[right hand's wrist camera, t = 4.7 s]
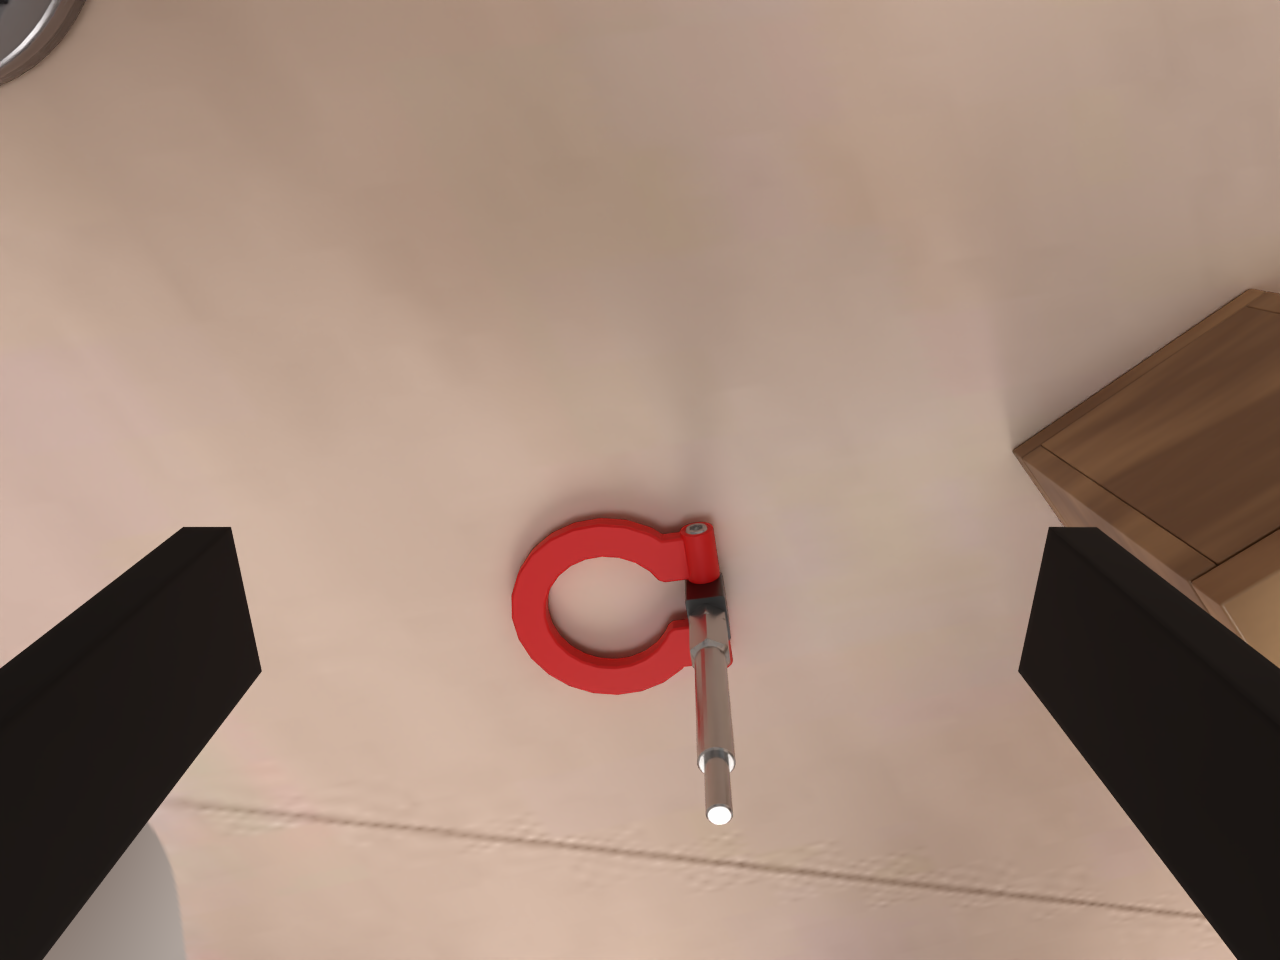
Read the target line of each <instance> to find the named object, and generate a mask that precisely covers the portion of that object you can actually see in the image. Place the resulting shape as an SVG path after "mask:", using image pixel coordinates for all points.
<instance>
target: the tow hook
mask: <svg viewBox="0 0 1280 960" xmlns="http://www.w3.org/2000/svg"><path fill="white" fill-rule="evenodd" d="M597 557H616V558H622V559H625V560H628V561H631V562H635V563H637V564H638V565H640V566H642V567H643V568H645V569H647V570H648V571H650V572H651V573H652V574H653V575H654V576H655V577H656V578H657V579H658V580H660V581H663V582H670V581H678V580H685V603H686V609H687V615H688V619H684V620H675V621H672V622H671V623H670V624H668V626H667V629H666V631H665V632H664V634H663V635H662V636H661V637H660V639H659V640H658V641H657V642H656V643H655V644H653V645H652V646H651V647H649V648H648V649H647V650H645V651H643V652H641V653H638V654H636V655H633V656H631V657H624V658H618V659H611V658H599V657H596V656H592V655H589V654H586V653H583V652H582V651H580V650H578V649H576V648H575V647H573V646H571V645H570V644H569V643H568V642H567V641H566V640H565V639H564V638H563V637H561V636H560V634H559V633H558V631H557V630H556V628H555V626H554V625H553V623H552V620H551V617H550V614H549V610H548V594H549V590H550V588H551V586H552V585H553V583H554V582H555V580H556V579H557V578H558V576H559V575H560V574H562V573H563V572H564V571H565V570H566V569H568V568H569V567H570V566H572V565H574V564H576V563H579V562H581V561H583V560H585V559H591V558H597ZM512 619H513V623H514V626H515V629H516V632H517V635H518V638H519V640H520V642H521V643H522V645H523V646H524V648H525V650H526V651H527V653H528V654H529V656H530V657H531V659H533V660H534V661H535V662H536V663H537V664H538V665H539V666H540V667H541V668H542V669H543V670H545V671H546V672H547V673H548V674H549V675H551V676H553V677H554V678H556V679H558V680H560V681H562V682H563V683H565V684H567V685H569V686H571V687H575V688H578V689H581V690H585V691H588V692H592V693H601V694H615V695H619V694H626V693H632V692H639V691H643V690H646V689H648V688H651V687H653V686H656V685H658V684H661V683H663V682H665V681H666V680H668V679H669V678H670V677H672V676H673V675H675V674H676V673H677V672H679V671H680V670H681V669H683V667H685V666H693V668H695V693H696V731H697V765H698V768H699V769H700V771H701V772H702V773H704V777H705V803H706V817H707V819H708V820H709V821H710V822H711V823H714V824H718V825H721V824H726V823H728V822H729V821H730V820H731V819H732V817H733V807H732V795H731V782H730V773H731V772H732V771H733V769H734V767H735V750H734V739H733V728H732V717H731V706H730V695H729V684H728V673H727V668H728V667H729V666H730V665H731V664H732V662H733V658H732V651H731V644H730V638H731V636H730V627H729V617H728V609H727V602H726V596H725V589H724V582H723V576H722V573H721V572H720V570H719V564H718V557H717V550H716V543H715V537H714V530H713V526H712V525H711V524H710V523H706V522H695V523H691V524H688V525H685V526H684V527H682V528H681V529H680V532H676V533H668V534H661V533H659V532H658V531H656V530H654V529H653V528H651V527H648V526H645V525H642V524H638V523H635V522H632V521H629V520H623V519H607V518H597V519H592V520H586V521H580V522H575V523H572V524H570V525H568V526H566V527H564V528H561V529H559V530H557V531H555V532H553V533H551V534H550V535H549V536H547V537H546V538H545V539H544V540H543V541H542V542H540V543H539V544H538V545H537V546H536V547H534V548H533V550H532V551H531V553H530V554H529V556H528V557H527V559H526V560H525V562H524V563H523V565H522V566H521V568H520V570H519V573H518V576H517V579H516V582H515V586H514V589H513V593H512Z"/></svg>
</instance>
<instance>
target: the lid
mask: <svg viewBox="0 0 1280 960" xmlns="http://www.w3.org/2000/svg"><path fill="white" fill-rule="evenodd" d="M1191 584H1192V586H1193V588H1194V589H1195V591H1196V593H1197V594H1198V596H1199V597H1200V599H1201V600H1202V602H1203V603H1204V605H1205V607H1206V608H1207V610H1208V611H1209V613H1210V614H1211V616H1212V617H1214V618H1215V619H1216V620H1218V621H1219V622H1220V623H1222V624H1223V625H1224V626H1225V627H1227V628H1228V629H1229V630H1231V631H1232V632H1233V633H1234V634H1236V635H1237V636H1238V637H1240V638H1241V639H1242V640H1244V641H1245V642H1246V643H1247V644H1249V645H1250V646H1251V647H1253V648H1254V649H1255V650H1256V651H1258V652H1259V653H1260V654H1262V655H1263V656H1264V657H1266V658H1267V659H1268V660H1269V661H1271V662H1272V663H1273V664H1275V665H1276V666H1277V667H1278V668H1280V529H1279V530H1277V531H1275V532H1274V533H1272V534H1270V535H1269V536H1267V537H1265V538H1264V539H1262V540H1260V541H1259V542H1257V543H1255V544H1254V545H1252V546H1250V547H1249V548H1247V549H1245V550H1244V551H1242V552H1240V553H1239V554H1237V555H1235V556H1234V557H1232V558H1230V559H1229V560H1227V561H1225V562H1224V563H1222V564H1221V565H1219V566H1217V567H1216V568H1214V569H1212V570H1211V571H1209V572H1207V573H1206V574H1204V575H1202V576H1201V577H1199V578H1197V579H1196V580H1194V581H1192V583H1191Z"/></svg>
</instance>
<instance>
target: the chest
mask: <svg viewBox="0 0 1280 960" xmlns="http://www.w3.org/2000/svg"><path fill="white" fill-rule="evenodd" d="M1013 453H1014V454H1015V456H1016V457H1017V459H1018V460H1019V462H1020V463H1021V465H1022V466H1023V467H1024V469H1025V470H1026V472H1027V473H1028V475H1029V476H1030V478H1031V479H1032V480H1033V482H1034V483H1035V485H1036V486H1037V488H1038V489H1039V491H1040V492H1041V494H1042V495H1043V496H1044V498H1045V499H1046V501H1047V502H1048V504H1049V505H1050V507H1051V508H1052V509H1053V511H1054V512H1055V514H1056V515H1057V517H1058V518H1059V520H1060V521H1061V522H1062V524H1063V525H1064V527H1097V528H1099V529H1100V530H1101V531H1103V532H1104V533H1105V534H1106V535H1108V536H1109V537H1110V538H1112V539H1113V540H1114V541H1115V542H1117V543H1118V544H1119V545H1121V546H1122V547H1123V548H1124V549H1126V550H1127V551H1128V552H1130V553H1131V554H1132V555H1134V556H1135V557H1136V558H1137V559H1139V560H1140V561H1141V562H1143V563H1144V564H1145V565H1146V566H1148V567H1149V568H1150V569H1152V570H1153V571H1154V572H1156V573H1157V574H1158V575H1159V576H1161V577H1162V578H1163V579H1165V580H1166V581H1167V582H1168V583H1170V584H1171V585H1172V586H1174V587H1175V588H1176V589H1178V590H1179V591H1180V592H1181V593H1183V594H1184V595H1185V596H1187V597H1188V598H1189V599H1190V600H1192V601H1193V602H1194V603H1196V604H1197V605H1198V606H1200V607H1201V608H1202V609H1203V610H1205V611H1206V612H1207V613H1209V611H1208V610H1207V608H1206V607H1205V605H1204V603H1203V602H1202V600H1201V599H1200V597H1199V596H1198V594H1197V593H1196V591H1195V589H1194V588H1193V586H1192V584H1191V583H1192V581H1194V580H1196V579H1197V578H1199V577H1201V576H1202V575H1204V574H1206V573H1207V572H1209V571H1211V570H1212V569H1214V568H1216V567H1217V566H1219V565H1221V564H1222V563H1224V562H1225V561H1227V560H1229V559H1230V558H1232V557H1234V556H1235V555H1237V554H1239V553H1240V552H1242V551H1244V550H1245V549H1247V548H1249V547H1250V546H1252V545H1254V544H1255V543H1257V542H1259V541H1260V540H1262V539H1264V538H1265V537H1267V536H1269V535H1270V534H1272V533H1274V532H1275V531H1277V530H1279V529H1280V294H1278V293H1273V292H1265V291H1260V290H1255V289H1249V290H1247V291H1246V292H1244V293H1243V294H1241V295H1240V296H1239V297H1237V298H1236V299H1234V300H1233V301H1231V302H1230V303H1228V304H1227V305H1225V306H1224V307H1222V308H1221V309H1220V310H1218V311H1217V312H1215V313H1214V314H1212V315H1211V316H1209V317H1208V318H1206V319H1205V320H1203V321H1202V322H1200V323H1199V324H1198V325H1196V326H1195V327H1193V328H1192V329H1190V330H1189V331H1187V332H1186V333H1184V334H1183V335H1181V336H1180V337H1178V338H1177V339H1176V340H1174V341H1173V342H1171V343H1170V344H1168V345H1167V346H1165V347H1164V348H1162V349H1161V350H1159V351H1158V352H1157V353H1155V354H1154V355H1152V356H1151V357H1149V358H1148V359H1146V360H1145V361H1143V362H1142V363H1140V364H1139V365H1137V366H1136V367H1135V368H1133V369H1132V370H1130V371H1129V372H1127V373H1126V374H1124V375H1123V376H1121V377H1120V378H1118V379H1117V380H1115V381H1114V382H1113V383H1111V384H1110V385H1108V386H1107V387H1105V388H1104V389H1102V390H1101V391H1099V392H1098V393H1096V394H1095V395H1094V396H1092V397H1091V398H1089V399H1088V400H1086V401H1085V402H1083V403H1082V404H1080V405H1079V406H1077V407H1076V408H1074V409H1073V410H1072V411H1070V412H1069V413H1067V414H1066V415H1064V416H1063V417H1061V418H1060V419H1058V420H1057V421H1055V422H1054V423H1052V424H1051V425H1050V426H1048V427H1047V428H1045V429H1044V430H1042V431H1041V432H1039V433H1038V434H1036V435H1035V436H1033V437H1032V438H1031V439H1029V440H1028V441H1026V442H1025V443H1023V444H1022V445H1020V446H1019V447H1017V448H1016V449H1014V450H1013ZM1209 614H1210V613H1209ZM1210 615H1211V614H1210Z"/></svg>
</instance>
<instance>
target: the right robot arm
mask: <svg viewBox="0 0 1280 960" xmlns="http://www.w3.org/2000/svg"><path fill="white" fill-rule="evenodd" d="M85 1H86V0H0V85H2V84H4V83H6V82H8V81H11V80H13V79H15V78H17V77H19V76H20V75H22V74H23V73H25V72H26V71H28V70H29V69H31V68H32V67H34V66H35V65H36V64H37V63H39V62H40V61H41V60H42V59H43V58H44V57H46V56H47V55H48V54H49V53H50V52H51V51H52V50H53V49H54V48H55V47H56V45H57V44H58V43H59V42H60V41H61V40H62V39H63V38H64V36H65V35H66V33H67V32H68V30H69V29H70V27H71V26H72V25H73V23H74V22H75V20H76V18H77V16H78V15H79V13H80V11H81V9H82V7H83V5H84V3H85ZM261 672H262V670H261V665H260V661H259V656H258V651H257V647H256V642H255V637H254V633H253V628H252V623H251V619H250V614H249V609H248V605H247V600H246V595H245V591H244V586H243V581H242V576H241V572H240V567H239V562H238V558H237V553H236V548H235V544H234V539H233V534H232V530H231V527H183V528H181V529H180V530H179V531H177V532H176V533H175V534H174V535H172V536H171V537H170V538H168V539H167V540H166V541H165V542H163V543H162V544H161V545H159V546H158V547H157V548H156V549H154V550H153V551H152V552H150V553H149V554H148V555H146V556H145V557H144V558H143V559H141V560H140V561H139V562H137V563H136V564H135V565H134V566H132V567H131V568H130V569H128V570H127V571H126V572H124V573H123V574H122V575H121V576H119V577H118V578H117V579H115V580H114V581H113V582H112V583H110V584H109V585H108V586H106V587H105V588H104V589H102V590H101V591H100V592H99V593H97V594H96V595H95V596H93V597H92V598H91V599H90V600H88V601H87V602H86V603H84V604H83V605H82V606H80V607H79V608H78V609H77V610H75V611H74V612H73V613H71V614H70V615H69V616H68V617H66V618H65V619H64V620H62V621H61V622H60V623H58V624H57V625H56V626H55V627H53V628H52V629H51V630H49V631H48V632H47V633H46V634H44V635H43V636H42V637H40V638H39V639H38V640H36V641H35V642H34V643H33V644H31V645H30V646H29V647H27V648H26V649H25V650H24V651H22V652H21V653H20V654H18V655H17V656H16V657H14V658H13V659H12V660H11V661H9V662H8V663H7V664H5V665H4V666H3V667H2V668H0V960H43V958H44V957H45V956H46V954H47V953H48V952H49V950H50V949H51V948H52V946H53V945H54V944H55V942H56V941H57V940H58V939H59V937H60V936H61V935H62V933H63V932H64V931H65V929H66V928H67V927H68V925H69V924H70V923H71V921H72V920H73V919H74V918H75V916H76V915H77V914H78V912H79V911H80V910H81V908H82V907H83V906H84V904H85V903H86V902H87V900H88V899H89V898H90V897H91V895H92V894H93V893H94V891H95V890H96V889H97V887H98V886H99V885H100V883H101V882H102V881H103V879H104V878H105V877H106V875H107V874H108V873H109V872H110V870H111V869H112V868H113V866H114V865H115V864H116V862H117V861H118V860H119V858H120V857H121V856H122V854H123V853H124V852H125V850H126V849H127V848H128V846H129V845H130V844H131V843H132V841H133V840H134V839H135V837H136V836H137V835H138V833H139V832H140V831H141V829H142V828H143V827H144V826H145V824H146V823H147V822H148V820H149V819H150V818H151V816H152V815H153V814H154V812H155V811H156V810H157V808H158V807H159V806H160V804H161V803H162V802H163V801H164V799H165V798H166V797H167V795H168V794H169V793H170V791H171V790H172V789H173V787H174V786H175V785H176V783H177V782H178V781H179V779H180V778H181V777H182V776H183V774H184V773H185V772H186V770H187V769H188V768H189V766H190V765H191V764H192V762H193V761H194V760H195V758H196V757H197V756H198V755H199V753H200V752H201V751H202V749H203V748H204V747H205V745H206V744H207V743H208V741H209V740H210V739H211V737H212V736H213V735H214V733H215V732H216V731H217V730H218V728H219V727H220V726H221V724H222V723H223V722H224V720H225V719H226V718H227V716H228V715H229V714H230V712H231V711H232V710H233V708H234V707H235V706H236V705H237V703H238V702H239V701H240V699H241V698H242V697H243V695H244V694H245V693H246V691H247V690H248V689H249V687H250V686H251V685H252V684H253V682H254V681H255V680H256V678H257V677H258V676H259V674H260V673H261ZM1018 672H1019V673H1020V674H1021V676H1022V677H1023V678H1024V680H1025V681H1026V682H1027V684H1028V685H1029V686H1030V687H1031V689H1032V690H1033V691H1034V693H1035V694H1036V695H1037V697H1038V698H1039V699H1040V701H1041V702H1042V703H1043V705H1044V706H1045V707H1046V708H1047V710H1048V711H1049V712H1050V714H1051V715H1052V716H1053V718H1054V719H1055V720H1056V722H1057V723H1058V724H1059V726H1060V727H1061V728H1062V730H1063V731H1064V732H1065V733H1066V735H1067V736H1068V737H1069V739H1070V740H1071V741H1072V743H1073V744H1074V745H1075V747H1076V748H1077V749H1078V751H1079V752H1080V753H1081V755H1082V756H1083V757H1084V758H1085V760H1086V761H1087V762H1088V764H1089V765H1090V766H1091V768H1092V769H1093V770H1094V772H1095V773H1096V774H1097V776H1098V777H1099V778H1100V779H1101V781H1102V782H1103V783H1104V785H1105V786H1106V787H1107V789H1108V790H1109V791H1110V793H1111V794H1112V795H1113V797H1114V798H1115V799H1116V801H1117V802H1118V803H1119V804H1120V806H1121V807H1122V808H1123V810H1124V811H1125V812H1126V814H1127V815H1128V816H1129V818H1130V819H1131V820H1132V822H1133V823H1134V824H1135V826H1136V827H1137V828H1138V829H1139V831H1140V832H1141V833H1142V835H1143V836H1144V837H1145V839H1146V840H1147V841H1148V843H1149V844H1150V845H1151V847H1152V848H1153V849H1154V850H1155V852H1156V853H1157V854H1158V856H1159V857H1160V858H1161V860H1162V861H1163V862H1164V864H1165V865H1166V866H1167V868H1168V869H1169V870H1170V872H1171V873H1172V874H1173V875H1174V877H1175V878H1176V879H1177V881H1178V882H1179V883H1180V885H1181V886H1182V887H1183V889H1184V890H1185V891H1186V893H1187V894H1188V895H1189V897H1190V898H1191V899H1192V900H1193V902H1194V903H1195V904H1196V906H1197V907H1198V908H1199V910H1200V911H1201V912H1202V914H1203V915H1204V916H1205V918H1206V919H1207V920H1208V921H1209V923H1210V924H1211V925H1212V927H1213V928H1214V929H1215V931H1216V932H1217V933H1218V935H1219V936H1220V937H1221V939H1222V940H1223V941H1224V943H1225V944H1226V945H1227V946H1228V948H1229V949H1230V950H1231V952H1232V953H1233V954H1234V956H1235V957H1236V958H1237V960H1280V668H1278V667H1277V666H1276V665H1275V664H1273V663H1272V662H1271V661H1269V660H1268V659H1267V658H1266V657H1264V656H1263V655H1262V654H1260V653H1259V652H1258V651H1256V650H1255V649H1254V648H1253V647H1251V646H1250V645H1249V644H1247V643H1246V642H1245V641H1244V640H1242V639H1241V638H1240V637H1238V636H1237V635H1236V634H1234V633H1233V632H1232V631H1231V630H1229V629H1228V628H1227V627H1225V626H1224V625H1223V624H1222V623H1220V622H1219V621H1218V620H1216V619H1215V618H1214V617H1212V616H1211V615H1210V614H1209V613H1207V612H1206V611H1205V610H1203V609H1202V608H1201V607H1200V606H1198V605H1197V604H1196V603H1194V602H1193V601H1192V600H1190V599H1189V598H1188V597H1187V596H1185V595H1184V594H1183V593H1181V592H1180V591H1179V590H1178V589H1176V588H1175V587H1174V586H1172V585H1171V584H1170V583H1168V582H1167V581H1166V580H1165V579H1163V578H1162V577H1161V576H1159V575H1158V574H1157V573H1156V572H1154V571H1153V570H1152V569H1150V568H1149V567H1148V566H1146V565H1145V564H1144V563H1143V562H1141V561H1140V560H1139V559H1137V558H1136V557H1135V556H1134V555H1132V554H1131V553H1130V552H1128V551H1127V550H1126V549H1124V548H1123V547H1122V546H1121V545H1119V544H1118V543H1117V542H1115V541H1114V540H1113V539H1112V538H1110V537H1109V536H1108V535H1106V534H1105V533H1104V532H1103V531H1101V530H1100V529H1099V528H1097V527H1049V530H1048V534H1047V539H1046V544H1045V548H1044V553H1043V558H1042V562H1041V567H1040V572H1039V576H1038V581H1037V586H1036V591H1035V595H1034V600H1033V605H1032V609H1031V614H1030V619H1029V623H1028V628H1027V633H1026V637H1025V642H1024V647H1023V651H1022V656H1021V661H1020V665H1019V670H1018Z"/></svg>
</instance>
